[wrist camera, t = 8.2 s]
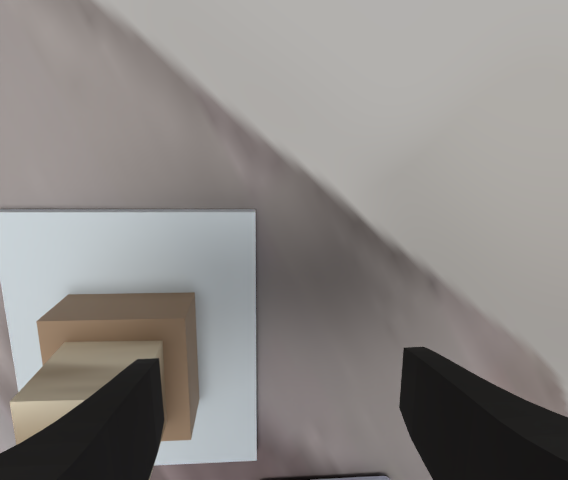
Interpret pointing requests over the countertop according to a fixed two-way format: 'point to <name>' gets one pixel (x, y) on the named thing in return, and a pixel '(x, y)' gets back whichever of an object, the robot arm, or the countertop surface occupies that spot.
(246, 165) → the countertop surface
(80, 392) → the maple block
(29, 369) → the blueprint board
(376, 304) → the countertop surface
